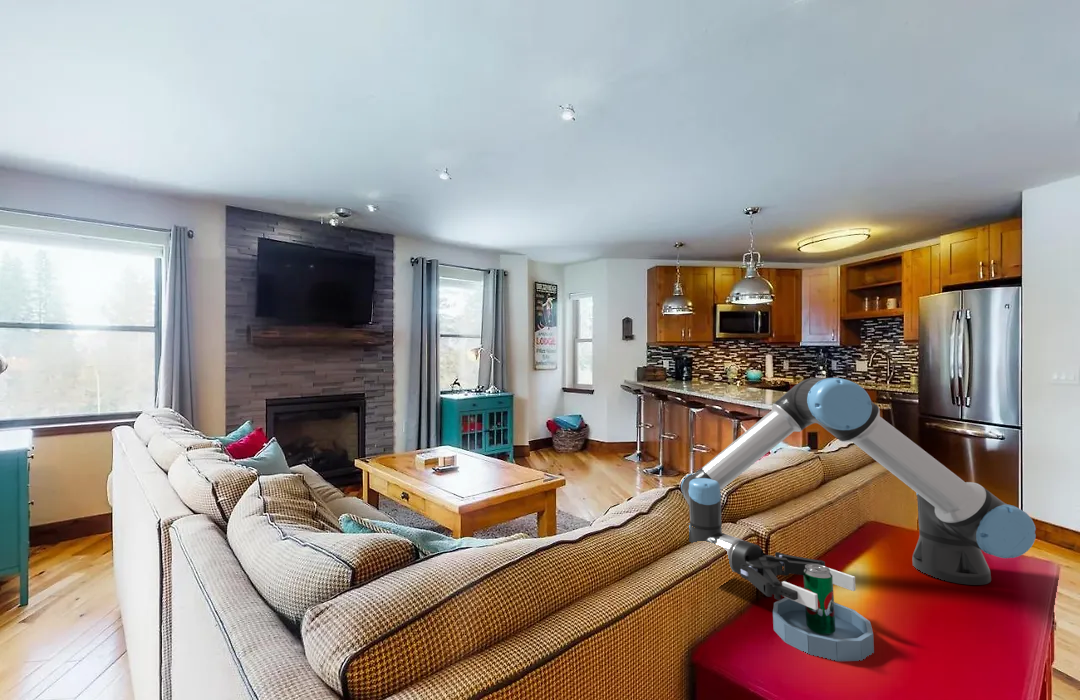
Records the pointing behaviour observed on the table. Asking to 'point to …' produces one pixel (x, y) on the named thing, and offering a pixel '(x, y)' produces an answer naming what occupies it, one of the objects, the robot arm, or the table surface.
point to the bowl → (842, 645)
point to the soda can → (820, 599)
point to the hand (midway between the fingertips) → (836, 592)
